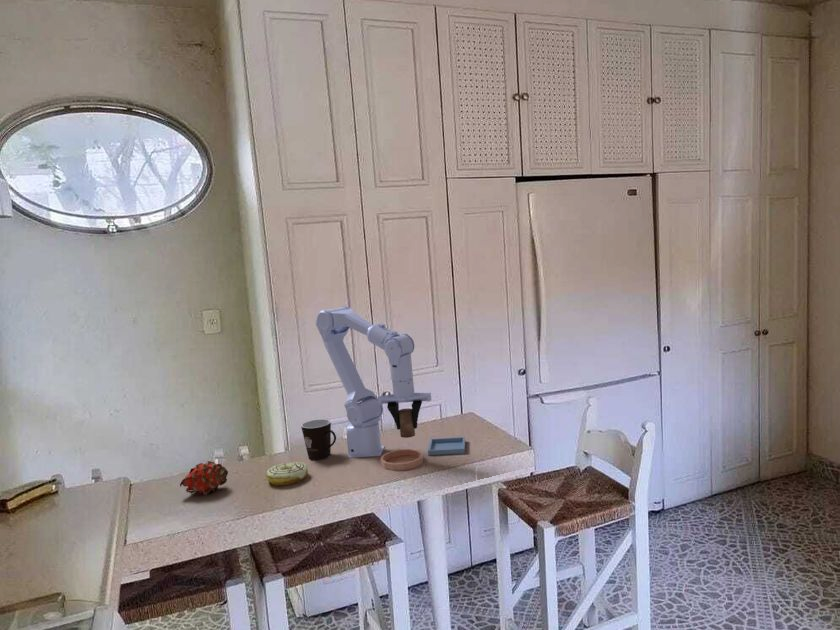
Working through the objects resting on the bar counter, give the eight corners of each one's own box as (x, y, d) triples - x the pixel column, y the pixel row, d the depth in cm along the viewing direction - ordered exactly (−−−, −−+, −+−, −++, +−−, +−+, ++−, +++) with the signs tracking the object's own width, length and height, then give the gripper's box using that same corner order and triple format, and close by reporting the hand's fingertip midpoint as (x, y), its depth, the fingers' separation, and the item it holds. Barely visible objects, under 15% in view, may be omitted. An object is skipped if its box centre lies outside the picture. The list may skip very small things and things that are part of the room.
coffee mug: (301, 455, 172) (298, 423, 171) (329, 449, 175) (326, 417, 174) (311, 467, 161) (307, 432, 160) (341, 460, 165) (337, 426, 164)
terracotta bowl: (378, 472, 153) (377, 465, 152) (384, 457, 164) (384, 450, 164) (421, 470, 151) (420, 463, 151) (424, 454, 163) (424, 448, 163)
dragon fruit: (234, 493, 152) (187, 509, 148) (228, 467, 157) (183, 482, 154) (227, 475, 146) (178, 492, 142) (222, 449, 151) (174, 464, 148)
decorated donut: (311, 482, 151) (309, 468, 150) (269, 491, 147) (267, 476, 147) (305, 469, 160) (304, 456, 160) (266, 477, 157) (264, 464, 157)
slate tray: (428, 457, 161) (427, 450, 161) (431, 444, 171) (430, 438, 171) (464, 455, 160) (464, 448, 160) (465, 442, 170) (464, 436, 170)
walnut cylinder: (399, 438, 156) (397, 412, 156) (401, 433, 160) (399, 408, 160) (414, 437, 156) (411, 412, 155) (415, 432, 160) (413, 408, 159)
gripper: (373, 384, 153) (378, 434, 155) (427, 381, 152) (432, 431, 153) (378, 378, 160) (383, 426, 162) (430, 375, 159) (434, 423, 160)
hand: (407, 428), depth 158 cm, fingers closed on walnut cylinder, 4 cm apart
